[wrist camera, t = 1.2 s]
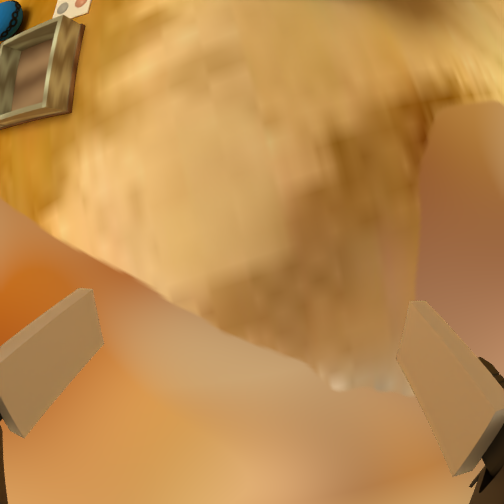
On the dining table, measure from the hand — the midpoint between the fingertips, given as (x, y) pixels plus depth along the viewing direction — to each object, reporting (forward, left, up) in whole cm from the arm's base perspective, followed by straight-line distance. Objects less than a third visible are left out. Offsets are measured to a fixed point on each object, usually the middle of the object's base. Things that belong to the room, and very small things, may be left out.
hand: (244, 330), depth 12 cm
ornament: (-36, -48, -28) cm, 66 cm away
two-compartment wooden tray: (-22, -44, -28) cm, 57 cm away
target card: (-35, -33, -28) cm, 56 cm away
